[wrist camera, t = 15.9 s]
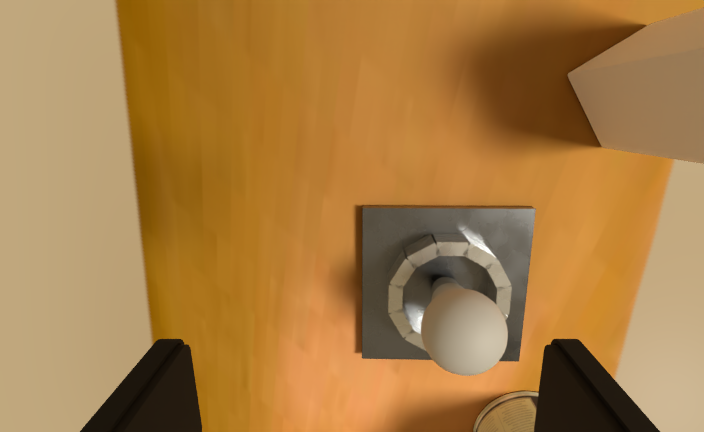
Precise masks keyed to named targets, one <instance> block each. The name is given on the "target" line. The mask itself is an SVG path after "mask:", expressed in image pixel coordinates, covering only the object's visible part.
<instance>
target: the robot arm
mask: <svg viewBox="0 0 704 432" xmlns="http://www.w3.org/2000/svg"><path fill="white" fill-rule="evenodd" d="M80 432H202V424H201V417H200V410H199V404H198V397H197V390H196V383H195V377H194V370H193V363H192V356H191V350H190V347H189V345H184V342H183V340H181V339H159V340H157V341H156V342H155V343H154V344H153V346H152V347H151V348H150V349H149V350H148V352H147V353H146V354H145V355H144V356H143V358H142V359H141V360H140V361H139V362H138V363H137V365H136V366H135V367H134V368H133V369H132V371H131V372H130V373H129V374H128V375H127V377H126V378H125V379H124V380H123V381H122V383H121V384H120V385H119V386H118V388H116V390H115V391H114V392H113V393H112V394H111V396H110V397H109V398H108V399H107V400H106V401H105V403H104V404H103V405H102V406H101V407H100V409H99V410H98V411H97V412H96V413H95V414H94V416H93V417H92V418H91V419H90V420H89V421H88V423H87V424H86V425H85V426H84V427H83V429H82V430H81V431H80ZM534 432H660V431H659V430H658V429H657V428H656V427H655V425H654V424H653V423H652V422H651V421H650V420H649V419H648V418H647V416H646V415H645V414H644V413H643V412H642V411H641V410H640V408H639V407H638V406H637V405H636V404H635V403H634V402H633V400H632V399H631V398H630V397H629V396H628V395H627V394H626V392H625V391H624V390H623V389H622V388H621V387H620V386H619V385H618V384H617V382H616V381H615V380H614V379H613V378H612V377H611V375H610V374H609V373H608V372H607V371H606V370H605V369H604V367H603V366H602V365H601V364H600V363H599V362H598V361H597V360H596V358H595V357H594V356H593V355H592V354H591V353H590V352H589V350H588V349H587V348H586V347H585V346H584V345H583V344H582V343H581V341H579V340H578V339H554V340H553V341H552V342H551V345H546V346H545V349H544V356H543V363H542V371H541V379H540V386H539V394H538V402H537V409H536V417H535V425H534Z"/></svg>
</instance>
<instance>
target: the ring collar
mask: <svg viewBox="0 0 704 432" xmlns="http://www.w3.org/2000/svg"><path fill="white" fill-rule="evenodd" d="M535 211H536V209H535V208H533V207H532V206H373V205H363V243H362V358H366V359H419V360H433V359H432V358H431V357H430V355H429V354H428V352H427V351H426V349H425V347H424V344H423V342H422V337H421V322H422V318H423V314H424V312H425V310H426V308H427V306H428V305H429V304H430V303H431V299H432V291H431V289H432V285H433V283H434V282H435V281H436V280H437V279H439V278H441V277H451V278H453V279H454V280H456V282H457V283H458V284H459V285H460V286H462V287H463V288H464V289H470V290H474V291H477V292H479V293H482V294H483V295H485V296H486V297H488V298H489V299H491V300H492V301H493V302H494V303H495V304H496V305H497V306H498V308H499V309H500V311H501V312H502V314H503V316H504V318H505V321H506V325H507V331H508V339H507V346H506V349H505V352H504V354H503V355H502V357H501V358H500V360H499V361H519V356H520V347H521V338H522V329H523V320H524V311H525V302H526V293H527V284H528V274H529V265H530V256H531V247H532V238H533V229H534V220H535Z"/></svg>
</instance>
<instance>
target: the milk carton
mask: <svg viewBox="0 0 704 432" xmlns="http://www.w3.org/2000/svg"><path fill="white" fill-rule="evenodd" d="M568 78H569V80H570V82H571V85H572V87H573V89H574V91H575V93H576V95H577V97H578V99H579V101H580V103H581V105H582V107H583V109H584V112H585V114H586V116H587V118H588V120H589V122H590V124H591V126H592V128H593V130H594V132H595V134H596V137H597V139H598V141H599V143H600V145H601V146H602V147H603V148H608V149H614V150H620V151H627V152H633V153H639V154H646V155H652V156H658V157H665V158H671V159H677V160H684V161H690V162H696V163H703V164H704V8H700V9H697V10H694V11H691V12H687V13H684V14H681V15H678V16H674V17H671V18H668V19H665V20H661V21H658V22H655V23H652V24H649V25H648V26H646V27H644V28H643V29H641V30H639V31H638V32H636V33H634V34H633V35H631V36H629V37H628V38H626V39H624V40H623V41H621V42H619V43H618V44H616V45H614V46H613V47H611V48H609V49H608V50H606V51H604V52H603V53H601V54H599V55H598V56H596V57H594V58H593V59H591V60H589V61H588V62H586V63H584V64H583V65H581V66H579V67H578V68H576V69H574V70H573V71H571V72H569V73H568Z"/></svg>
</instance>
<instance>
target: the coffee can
mask: <svg viewBox="0 0 704 432" xmlns="http://www.w3.org/2000/svg"><path fill="white" fill-rule="evenodd" d="M538 394H539V393H538V392H533V391H519V392H513V393H509V394H506V395H503V396H501V397H499V398H497V399H495V400H494V401H492V402H491V403H489V404H488V405H487V406H486V407H485V408H484V409H483V410H482V411H481V413H480V414H479V416H478V417H477V419H476V422H475V424H474V428H473V432H534V425H535V417H536V409H537V402H538Z"/></svg>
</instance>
